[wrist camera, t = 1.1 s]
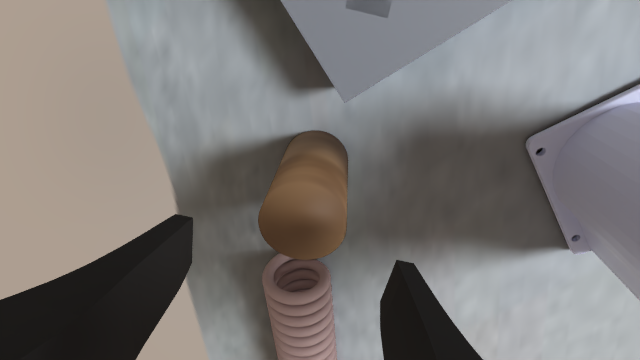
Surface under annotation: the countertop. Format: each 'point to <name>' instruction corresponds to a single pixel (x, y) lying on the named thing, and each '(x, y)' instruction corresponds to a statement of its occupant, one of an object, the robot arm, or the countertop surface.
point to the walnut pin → (307, 198)
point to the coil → (300, 308)
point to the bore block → (379, 34)
